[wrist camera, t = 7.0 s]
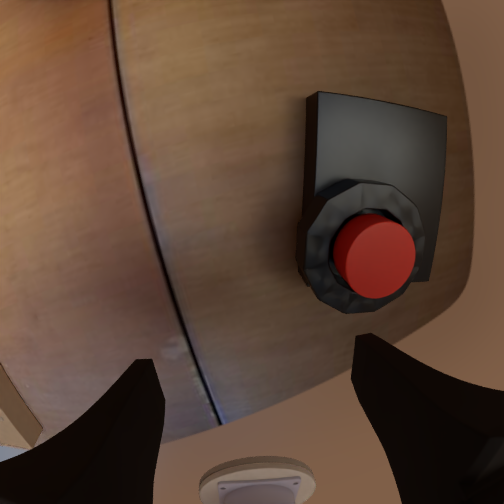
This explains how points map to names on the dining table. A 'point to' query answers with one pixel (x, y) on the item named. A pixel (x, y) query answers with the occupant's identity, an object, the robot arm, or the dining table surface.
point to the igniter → (374, 255)
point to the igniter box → (367, 185)
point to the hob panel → (16, 417)
